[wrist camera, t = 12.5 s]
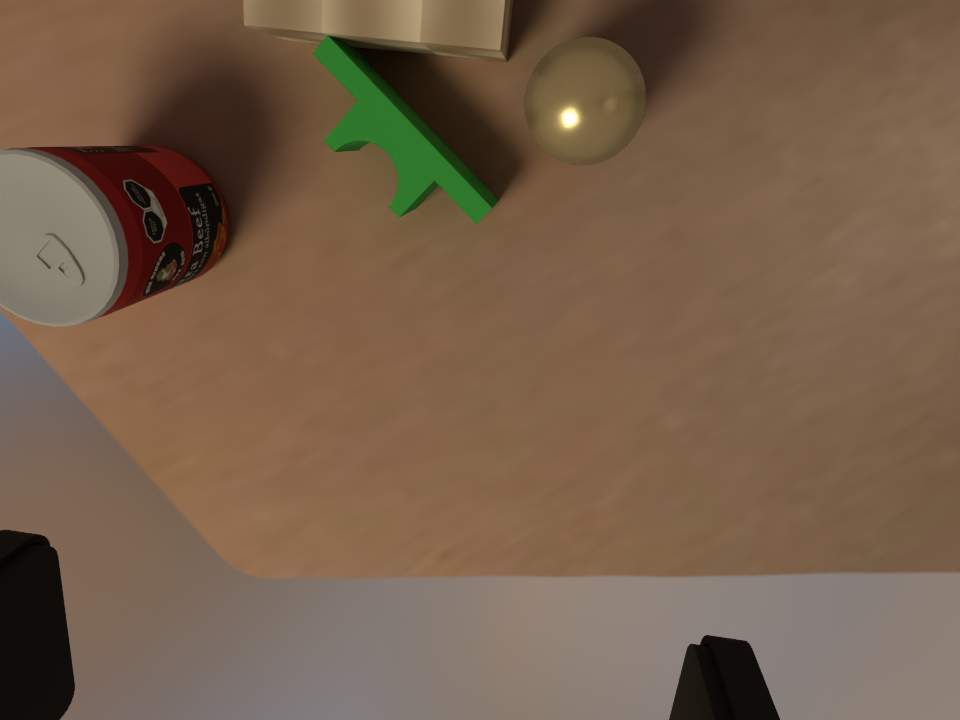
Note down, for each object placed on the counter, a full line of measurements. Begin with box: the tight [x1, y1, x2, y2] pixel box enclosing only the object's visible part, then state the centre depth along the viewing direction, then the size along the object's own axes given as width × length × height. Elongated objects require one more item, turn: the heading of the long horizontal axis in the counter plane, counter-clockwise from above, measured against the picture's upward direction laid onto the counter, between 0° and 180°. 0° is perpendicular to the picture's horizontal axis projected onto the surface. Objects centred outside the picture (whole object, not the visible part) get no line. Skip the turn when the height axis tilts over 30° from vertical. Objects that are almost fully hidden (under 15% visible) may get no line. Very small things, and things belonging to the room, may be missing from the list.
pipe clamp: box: [312, 35, 499, 224], centre depth 35 cm, size 11×4×5 cm, turn 45°
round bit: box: [525, 37, 646, 165], centre depth 31 cm, size 5×5×8 cm
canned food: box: [0, 146, 229, 326], centre depth 34 cm, size 8×8×11 cm
